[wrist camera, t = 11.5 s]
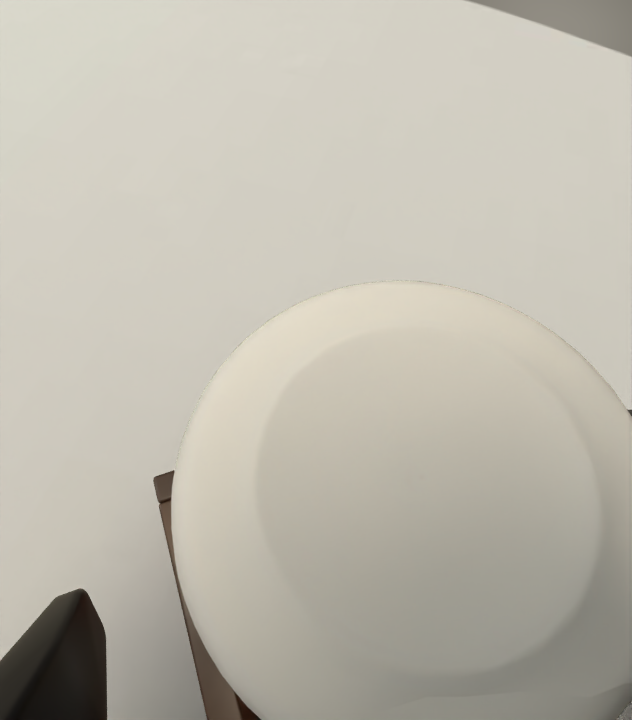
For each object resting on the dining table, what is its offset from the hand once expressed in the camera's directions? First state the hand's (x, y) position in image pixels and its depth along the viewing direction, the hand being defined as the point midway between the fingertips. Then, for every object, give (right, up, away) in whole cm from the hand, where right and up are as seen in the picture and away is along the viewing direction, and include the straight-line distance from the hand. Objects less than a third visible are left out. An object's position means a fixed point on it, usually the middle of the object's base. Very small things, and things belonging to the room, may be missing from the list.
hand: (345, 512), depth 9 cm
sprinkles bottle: (0, -5, +7) cm, 9 cm away
